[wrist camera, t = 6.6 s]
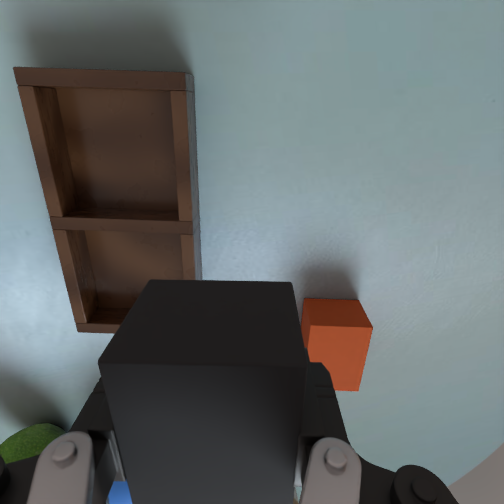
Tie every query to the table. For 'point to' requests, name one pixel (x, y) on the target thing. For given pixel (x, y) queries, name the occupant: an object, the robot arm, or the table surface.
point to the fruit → (29, 442)
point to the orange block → (337, 338)
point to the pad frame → (116, 181)
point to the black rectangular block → (208, 392)
